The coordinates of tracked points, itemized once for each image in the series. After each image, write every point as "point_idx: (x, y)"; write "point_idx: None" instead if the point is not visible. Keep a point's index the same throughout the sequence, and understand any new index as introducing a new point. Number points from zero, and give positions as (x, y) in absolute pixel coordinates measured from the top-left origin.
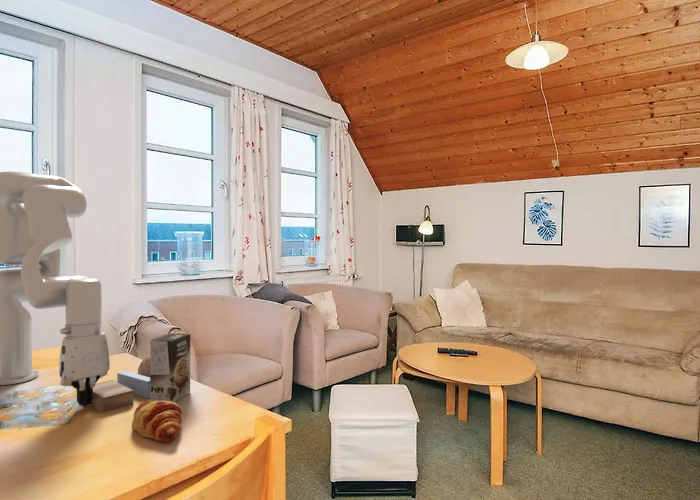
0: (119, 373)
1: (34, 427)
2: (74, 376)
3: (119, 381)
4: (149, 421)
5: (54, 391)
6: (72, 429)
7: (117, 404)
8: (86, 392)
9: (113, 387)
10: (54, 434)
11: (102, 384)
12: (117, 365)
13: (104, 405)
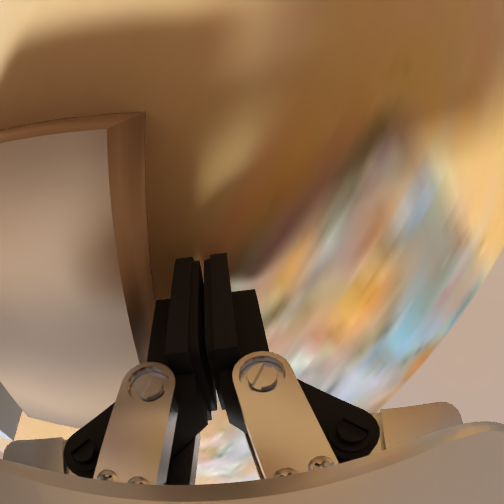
0: (3, 432)
1: (464, 215)
2: (495, 474)
3: (12, 401)
4: None
5: (218, 458)
6: (409, 23)
7: (38, 124)
8: (221, 329)
9: (7, 331)
10: (472, 58)
11: (70, 408)
12: None
13: (126, 118)
